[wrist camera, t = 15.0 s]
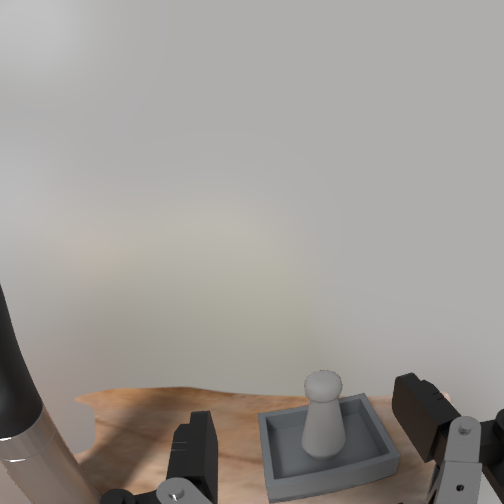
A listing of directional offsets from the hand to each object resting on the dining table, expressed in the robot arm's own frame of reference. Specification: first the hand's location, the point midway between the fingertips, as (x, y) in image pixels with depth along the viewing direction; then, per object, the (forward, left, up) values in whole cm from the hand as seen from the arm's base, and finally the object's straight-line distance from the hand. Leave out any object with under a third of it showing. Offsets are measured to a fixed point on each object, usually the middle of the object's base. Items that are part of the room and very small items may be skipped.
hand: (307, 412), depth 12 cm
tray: (+5, +19, -26) cm, 33 cm away
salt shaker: (+5, +19, -25) cm, 32 cm away
